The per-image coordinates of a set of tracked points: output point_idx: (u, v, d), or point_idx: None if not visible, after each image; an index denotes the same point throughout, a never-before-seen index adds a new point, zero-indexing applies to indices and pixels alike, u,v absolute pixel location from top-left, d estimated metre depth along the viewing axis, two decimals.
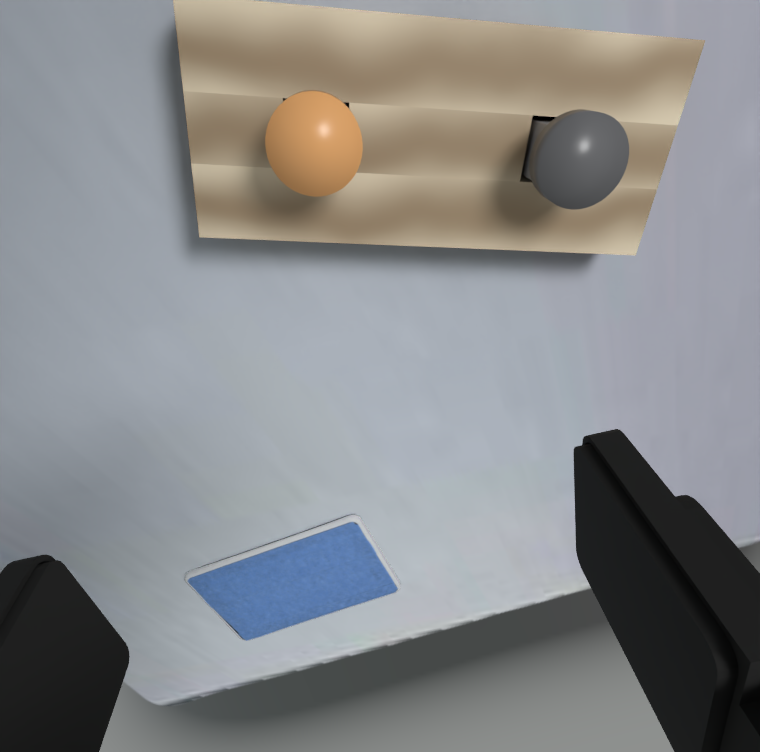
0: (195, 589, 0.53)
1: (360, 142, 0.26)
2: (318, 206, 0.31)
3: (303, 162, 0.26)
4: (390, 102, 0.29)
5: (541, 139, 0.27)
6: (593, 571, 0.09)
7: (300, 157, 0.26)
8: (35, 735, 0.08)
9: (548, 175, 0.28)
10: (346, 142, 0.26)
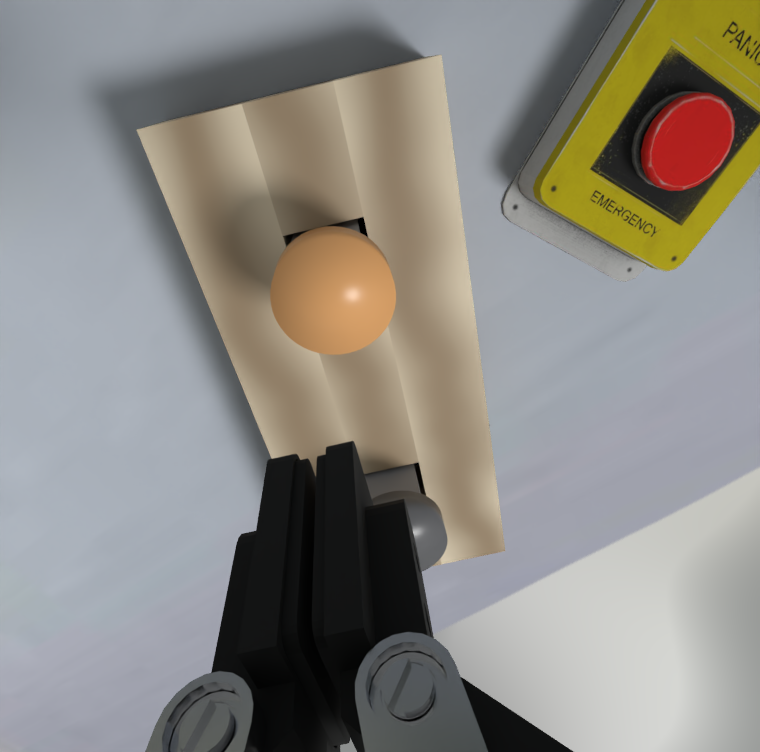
0: None
1: (355, 348, 0.21)
2: (252, 288, 0.24)
3: (310, 290, 0.20)
4: (393, 335, 0.26)
5: (409, 500, 0.27)
6: None
7: (315, 285, 0.20)
8: None
9: None
10: (350, 334, 0.21)
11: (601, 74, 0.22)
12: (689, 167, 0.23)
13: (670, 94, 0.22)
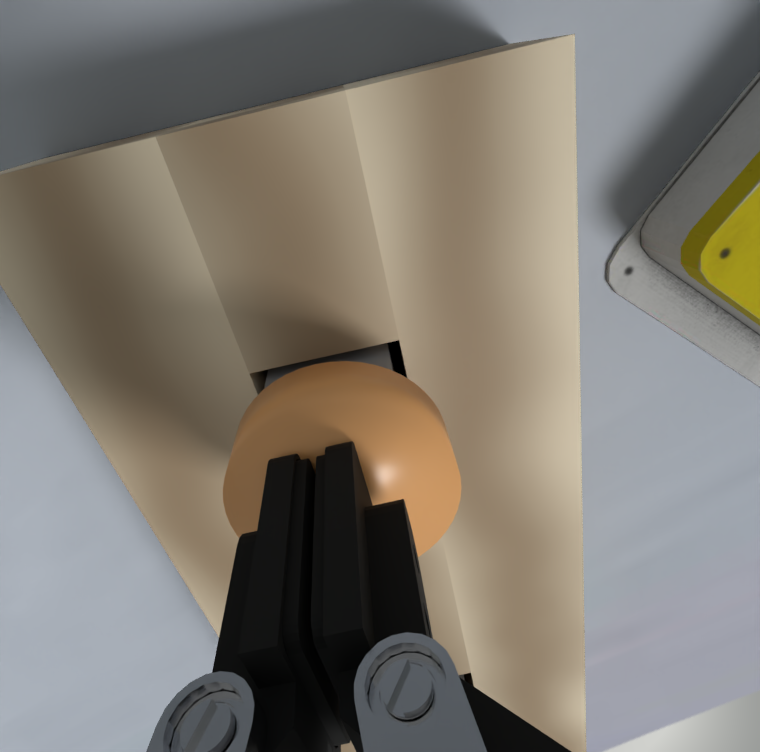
0: None
1: None
2: (197, 455, 0.13)
3: None
4: None
5: None
6: None
7: None
8: None
9: None
10: None
11: None
12: None
13: None
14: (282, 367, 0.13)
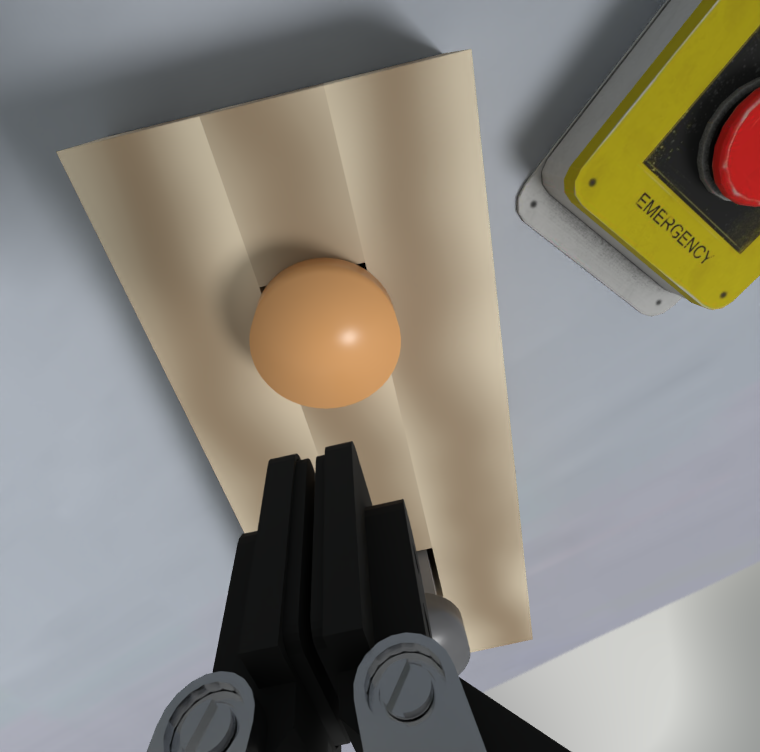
0: None
1: (352, 401, 0.18)
2: (221, 352, 0.18)
3: (298, 336, 0.16)
4: (402, 404, 0.20)
5: None
6: None
7: (303, 330, 0.16)
8: None
9: None
10: (346, 384, 0.18)
11: (676, 34, 0.17)
12: None
13: None
14: None
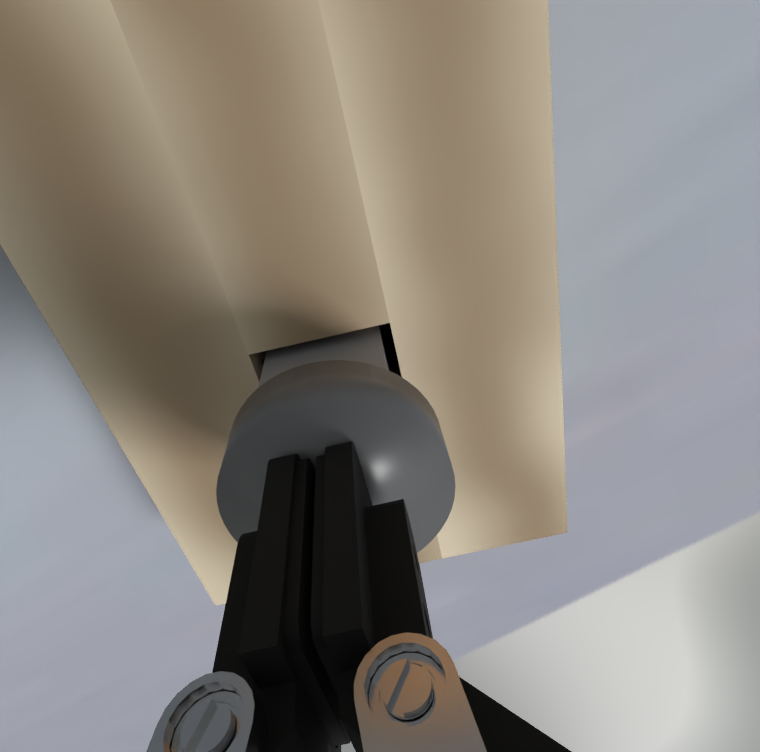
0: None
1: None
2: None
3: None
4: None
5: (354, 378, 0.10)
6: None
7: None
8: None
9: (277, 439, 0.10)
10: None
11: None
12: None
13: None
14: None
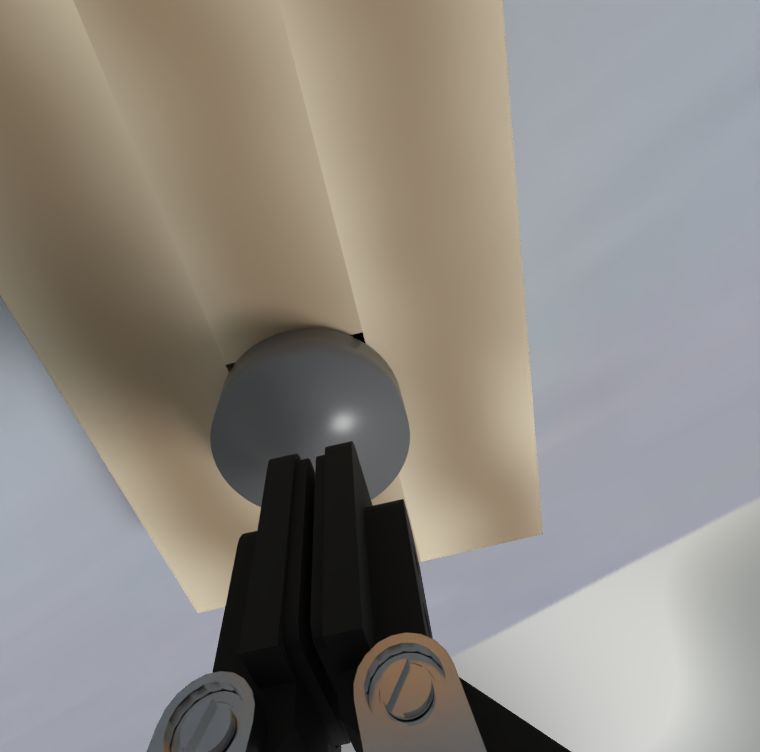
0: None
1: None
2: None
3: None
4: None
5: (324, 341, 0.12)
6: None
7: None
8: None
9: (261, 391, 0.12)
10: None
11: None
12: None
13: None
14: None
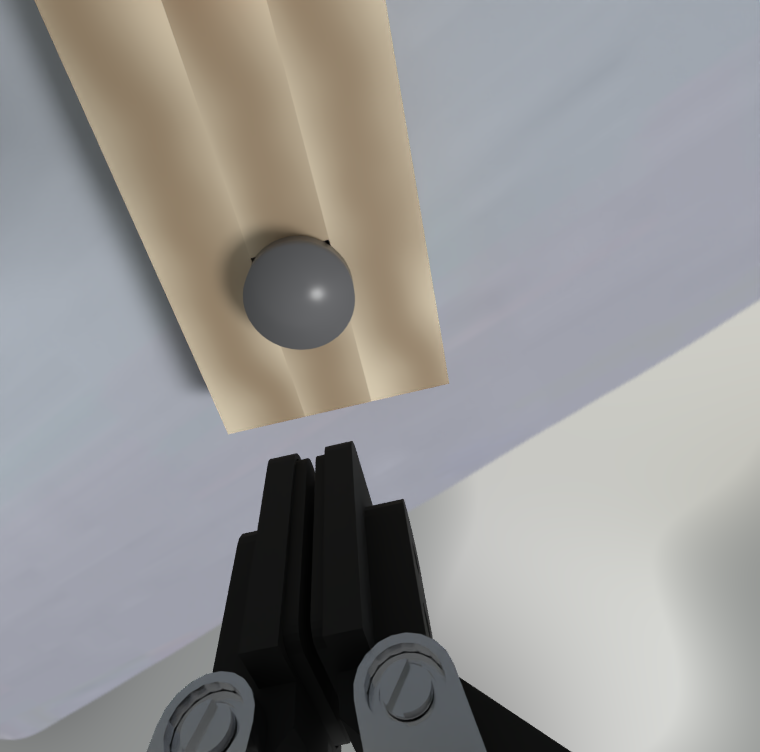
0: None
1: None
2: None
3: None
4: (276, 21, 0.19)
5: (306, 240, 0.22)
6: None
7: None
8: None
9: (271, 265, 0.22)
10: None
11: None
12: None
13: None
14: None
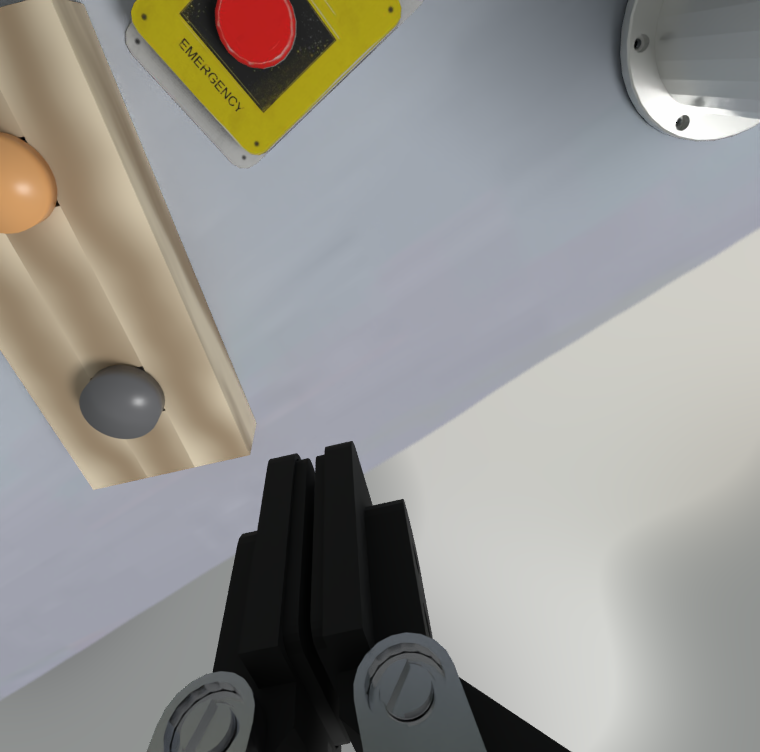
0: None
1: (23, 228, 0.28)
2: None
3: None
4: (82, 244, 0.30)
5: (121, 370, 0.33)
6: None
7: None
8: None
9: (95, 388, 0.33)
10: (15, 216, 0.27)
11: None
12: (254, 44, 0.26)
13: None
14: None
